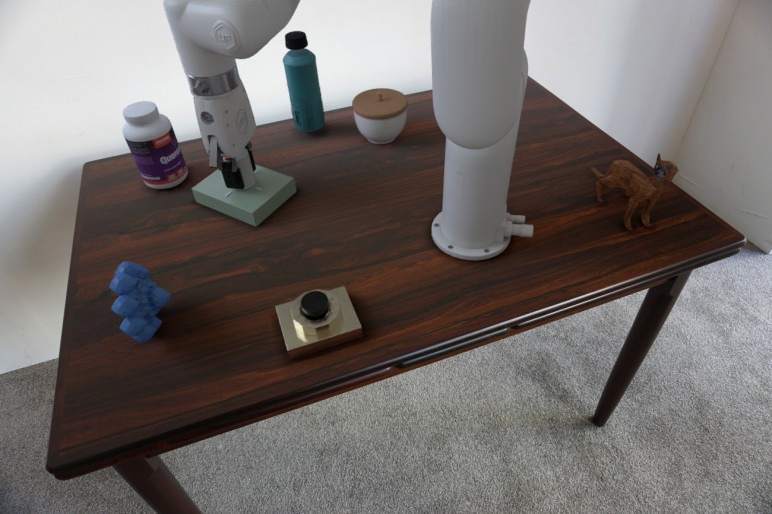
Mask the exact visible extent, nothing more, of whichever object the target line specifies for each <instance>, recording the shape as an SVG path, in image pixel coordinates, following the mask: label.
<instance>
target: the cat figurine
mask: <svg viewBox="0 0 772 514" xmlns="http://www.w3.org/2000/svg"><path fill="white" fill-rule="evenodd" d="M590 171H591V172H593V174H594V176H596V177H597V178H598V179H599V180H597V181H596V182H595V190H596V197H597V201H598V202H600V203H603V202H604V200H603V198H602V197H603V196H602V195H603V190H609V189H611V188H618V189H619V190H623V191H624V192H625V195H626V196H627V197H628V198H629V199H628V207H627V209H626V211H625V214H624V217H623V224H624V227H625V229H626V230H627V231H633V230H634V228H633V227H632V225H631V223H632V222H631V221H632V220H631V219H632V215H633V214H634V212H635V211H636V209H637V206H638V204H645V206H644V207H643V210H642V213H641V218H640V219H641V223H642V224H643V226H644V227H645V228H646V227H647V228H649V227H650V228H651V226H652V224H651V222H650V214H651V211H652V210H653V208H654V207H655V205H656V203H657V200H658V199H660V198H661V193H663V192H664V185H667V184H669V183H671V182H672V181H673V179H674V178H675V176H676V175H677V173H678V172H679V168H678V166H677V165H676V164H675V163H673V162H672V161H671V160H663V159H662V157H661V153H657V156H656V162H655V165H654V166H653V169H652V176H653V178H655V179H654V180H656V183H657V184H656V187H655V186H654V185H653V184H652V182H651V181H650V179H649V178H648V176H647V175H646V174H645V172H643V171H642V170H641V169H640V168H639V167H637V166H636V165H634V164H633V163H632V162H631V161H629V160H626V159H625V160H624V159H617V160H614V161H612V163H611V164H610V165H609V168H608V170H607V171H606V173H605V174H602V173H601V172H600V171H599V170H598V169H597V168H596V167H595V166H591V167H590Z"/></svg>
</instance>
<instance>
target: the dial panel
mask: <svg viewBox="0 0 772 514" xmlns="http://www.w3.org/2000/svg"><path fill="white" fill-rule="evenodd" d="M255 166H256V170H255V171H253V173H254V177H255V184H254V185H253V186H252V187H251V188H249V189H246V190H234V189H232V188H227V187H226V185H225V182H224V178H223V175H222V172H221V171H219V169H215V171H213V172H212V173H210V174H209V175H208V176H206V177H205V178H204V179H203V180H201V181H199V182H198V183H197V184H196V185H194V186H193V187H191V192H192V194H193V197H194V200H195V202H196V203H198V204H200V205H202V206H205V207H207V208H209V209H212V210H214V211H217V212H220V213H222V214H224V215H226V216H229V217H232V218H233V219H237V220H238V221H241V222H243V223H246V224H248V225H250V226H252V227H255V228H256V227H258V226H259V225H260V224H261V223H263V222H264V221H265V220H266V219H267V218H268V217H269V216H270V215H271V214H273V213H274V212H275V211H276V210H277V209H278V208H280V207H281V206H282V205H283V204H284V203H286V201H288V200H289V199H290V198H291V197H292V196H293V195H294V194H296V192H297V187H296V182H295V178H294V177H292V176H290V175H287V174H284V173H281V172H278V171H277V170H276V171H275V170H273V169H270V168H267V167H264V166H261V165H258V164H256V163H255Z"/></svg>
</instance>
